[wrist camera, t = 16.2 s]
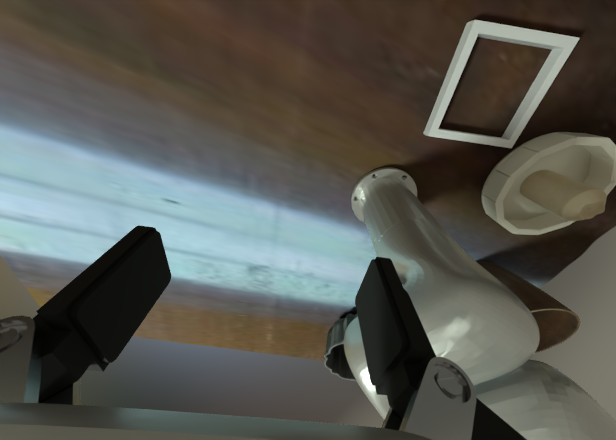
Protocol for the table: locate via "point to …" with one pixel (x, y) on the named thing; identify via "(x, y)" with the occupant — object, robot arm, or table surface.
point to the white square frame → (541, 84)
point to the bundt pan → (338, 349)
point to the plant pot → (539, 308)
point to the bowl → (546, 156)
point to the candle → (563, 195)
